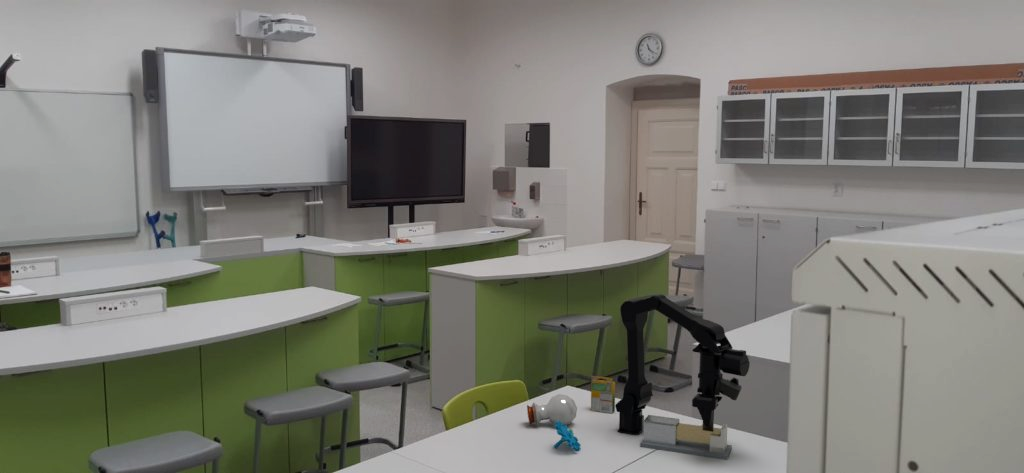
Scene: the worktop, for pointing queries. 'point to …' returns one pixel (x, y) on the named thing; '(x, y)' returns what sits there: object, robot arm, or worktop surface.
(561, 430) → the gear
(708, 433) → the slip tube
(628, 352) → the robot arm
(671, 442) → the sleeve
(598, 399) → the crayon box
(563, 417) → the potion bottle
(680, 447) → the board
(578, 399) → the worktop surface
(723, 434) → the socket
